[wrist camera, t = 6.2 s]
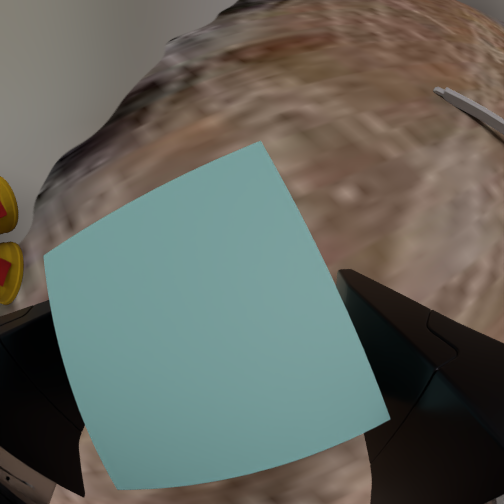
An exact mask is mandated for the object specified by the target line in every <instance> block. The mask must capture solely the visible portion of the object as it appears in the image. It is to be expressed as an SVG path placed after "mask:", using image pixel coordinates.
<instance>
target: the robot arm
mask: <svg viewBox="0 0 504 504" xmlns="http://www.w3.org/2000/svg"><path fill="white" fill-rule="evenodd" d="M336 288H337V290H338V292H339V294H340V296H341V299H342V301H343V303H344V305H345V308H346V310H347V312H348V314H349V317H350V319H351V321H352V323H353V326H354V328H355V330H356V333H357V335H358V337H359V340H360V342H361V344H362V347H363V349H364V352H365V354H366V357H367V359H368V361H369V364H370V366H371V369H372V371H373V374H374V376H375V379H376V382H377V384H378V387H379V389H380V392H381V395H382V397H383V400H384V403H385V405H386V408H387V411H388V413H389V416H390V420H388V421H386V422H384V423H382V424H381V425H379V426H377V427H375V428H373V429H371V430H369V431H367V432H365V433H364V436H365V441H366V446H367V451H368V456H369V461H370V464H371V465H370V467H371V475H372V489H371V502H370V504H504V343H502V342H500V341H498V340H495V339H493V338H491V337H489V336H486V335H484V334H482V333H480V332H477V331H475V330H473V329H471V328H468V327H466V326H464V325H462V324H460V323H458V322H456V321H454V320H452V319H450V318H448V317H446V316H444V315H442V314H440V313H438V312H436V311H434V310H430V309H429V308H427V307H425V306H423V305H421V304H419V303H418V302H416V301H414V300H412V299H410V298H408V297H406V296H404V295H402V294H400V293H398V292H396V291H394V290H392V289H390V288H388V287H386V286H384V285H382V284H380V283H378V282H376V281H374V280H372V279H370V278H368V277H366V276H364V275H362V274H360V273H358V272H356V271H354V270H352V269H340V270H339V271H338V273H337V285H336ZM84 426H85V423H84V421H83V418H82V416H81V413H80V411H79V408H78V405H77V403H76V400H75V397H74V394H73V391H72V388H71V385H70V382H69V379H68V376H67V373H66V369H65V366H64V363H63V359H62V355H61V352H60V348H59V344H58V340H57V336H56V331H55V327H54V322H53V317H52V312H51V306H50V301H49V300H47V301H44V302H42V303H39V304H36V305H34V306H33V305H32V306H29V307H27V308H24V309H21V310H18V311H15V312H13V313H10V314H7V315H4V316H1V317H0V504H49V503H50V501H51V498H52V495H53V492H54V490H55V487H56V484H58V485H60V486H62V487H64V488H66V489H68V490H70V491H72V492H74V493H76V494H78V495H80V496H82V497H84V496H85V490H84V484H83V478H82V471H81V463H80V455H79V439H80V436H81V432H82V431H83V428H84Z"/></svg>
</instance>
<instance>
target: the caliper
mask: <svg viewBox="0 0 504 504" xmlns="http://www.w3.org/2000/svg"><path fill="white" fill-rule="evenodd" d="M433 92H434V93H436V94H438V95H441V96H443V99H445V100H446V101H448V102H449V103H451V104H452V105H454V106H456V107H457V108H459V109H461V110H463V111H465V112H467V113H469V114H470V115H472V116H474V117H476V118H478V119H479V120H481V121H483V122H484V123H486V124H488V125H489V126H491V127H492V128H494V129H496V130H497V131H499V132H500V133H502V134H503V135H504V119H502V118H501V117H499V116H498V115H496V114H495V113H493V112H491V111H490V110H488V109H486V108H485V107H483V106H481V105H480V104H478V103H476V102H474V101H472V100H470V99H469V98H467V97H465V96H463V95H461V94H459V93H457V92H455V91H453V90H451V89H449V88H447V87H446V90H444V89H442V88H440V87H435V88H434V90H433Z"/></svg>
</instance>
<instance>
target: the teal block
mask: <svg viewBox="0 0 504 504" xmlns="http://www.w3.org/2000/svg"><path fill="white" fill-rule="evenodd" d="M44 265H45V274H46V281H47V288H48V295H49V301H50V306H51V312H52V317H53V322H54V327H55V331H56V336H57V340H58V344H59V348H60V352H61V355H62V359H63V363H64V366H65V369H66V373H67V376H68V379H69V382H70V385H71V388H72V391H73V394H74V397H75V400H76V403H77V405H78V408H79V411H80V413H81V416H82V418H83V421H84V423H85V426H86V428H87V430H88V433H89V435H90V437H91V439H92V442H93V444H94V446H95V448H96V450H97V452H98V454H99V456H100V458H101V460H102V462H103V464H104V466H105V468H106V470H107V472H108V474H109V476H110V477H111V479H112V481H113V483H114V485H115V486H116V488H117V490H136V489H157V488H169V487H179V486H187V485H195V484H202V483H208V482H214V481H219V480H224V479H229V478H234V477H239V476H243V475H247V474H251V473H255V472H259V471H263V470H267V469H270V468H274V467H277V466H280V465H284V464H287V463H290V462H293V461H296V460H299V459H302V458H305V457H307V456H310V455H313V454H316V453H318V452H321V451H323V450H326V449H328V448H331V447H333V446H336V445H338V444H340V443H343V442H345V441H347V440H350V439H352V438H354V437H356V436H358V435H360V434H363V433H365V432H367V431H369V430H371V429H373V428H375V427H377V426H379V425H381V424H382V423H384V422H386V421H388V420H390V416H389V413H388V411H387V408H386V405H385V403H384V400H383V397H382V395H381V392H380V389H379V387H378V384H377V382H376V379H375V376H374V374H373V371H372V369H371V366H370V364H369V361H368V359H367V357H366V354H365V352H364V349H363V347H362V344H361V342H360V340H359V337H358V335H357V333H356V330H355V328H354V326H353V323H352V321H351V319H350V317H349V314H348V312H347V310H346V308H345V305H344V303H343V301H342V299H341V296H340V294H339V292H338V290H337V288H336V286H335V283H334V281H333V279H332V277H331V275H330V273H329V271H328V269H327V266H326V264H325V262H324V260H323V258H322V256H321V254H320V252H319V250H318V248H317V246H316V244H315V242H314V240H313V238H312V236H311V234H310V232H309V230H308V228H307V226H306V224H305V222H304V220H303V218H302V216H301V214H300V212H299V210H298V208H297V206H296V204H295V203H294V201H293V199H292V197H291V195H290V193H289V191H288V189H287V187H286V186H285V184H284V182H283V180H282V178H281V176H280V175H279V173H278V171H277V169H276V167H275V165H274V164H273V162H272V160H271V158H270V156H269V155H268V153H267V151H266V149H265V148H264V146H263V144H262V142H261V141H259V142H257V143H254V144H252V145H249V146H247V147H244V148H242V149H240V150H237V151H235V152H233V153H230V154H228V155H226V156H223V157H221V158H219V159H217V160H214V161H212V162H210V163H208V164H205V165H203V166H201V167H199V168H197V169H195V170H193V171H190V172H188V173H186V174H184V175H182V176H180V177H178V178H176V179H174V180H172V181H170V182H168V183H166V184H164V185H162V186H160V187H158V188H156V189H154V190H152V191H150V192H149V193H147V194H145V195H143V196H141V197H139V198H137V199H135V200H134V201H132V202H130V203H128V204H126V205H125V206H123V207H121V208H119V209H117V210H116V211H114V212H112V213H110V214H109V215H107V216H105V217H104V218H102V219H100V220H99V221H97V222H95V223H94V224H92V225H90V226H89V227H87V228H85V229H84V230H82V231H81V232H79V233H77V234H76V235H74V236H73V237H71V238H69V239H68V240H66V241H65V242H63V243H62V244H60V245H59V246H57V247H56V248H54V249H53V250H51V251H50V252H48V253H47V254H45V255H44Z"/></svg>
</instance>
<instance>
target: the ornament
mask: <svg viewBox="0 0 504 504" xmlns="http://www.w3.org/2000/svg"><path fill="white" fill-rule="evenodd" d="M17 222H18V206H17V202H16V198H15V196H14V193H13V191H12V189H11V187H10V186H9V184H8V183H7V181H6V180H5V179H3V178H2V177H1V176H0V234H3V233H8V232H10V231H12V230H13V229H14V228H15V227H16V225H17ZM22 277H23V255H22V251H21V249H20V247H19V245H18V244H16V243H13V242H7V243H4V242H3V243H0V303H1V304H4V305H8V304H10V303H11V302H12V301H13V300H14V299H15V298H16V296H17V294H18V291H19V289H20V286H21V282H22Z"/></svg>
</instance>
